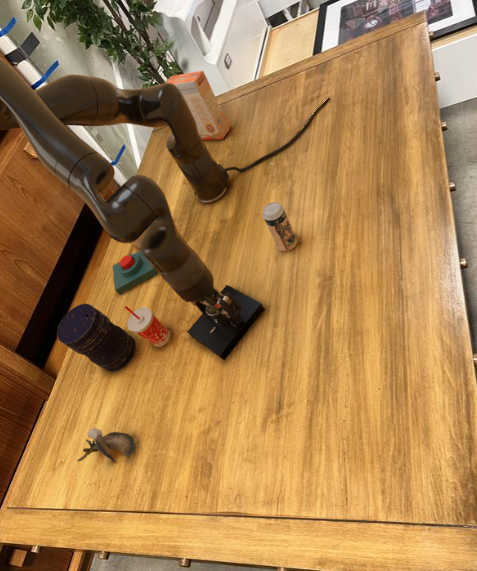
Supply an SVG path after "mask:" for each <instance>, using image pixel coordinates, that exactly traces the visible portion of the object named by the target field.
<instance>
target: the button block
mask: <svg viewBox="0 0 477 571" xmlns="http://www.w3.org/2000/svg"><path fill="white" fill-rule="evenodd" d="M129 255H130V256H131V257H132V258H133V259H134V261H135V262H134V265H133V266H132V267H131V268H129V269H124V268H123V267H122V266H121V265H120V261H118V262H117V263H115V264H113V265H112V273H113V274H112V275H113V284H114V291H115V292H116V293H118V294H119V295H122V294H123V293H125V292H127V291H129V290H131V289H133V288H134V287H136V286H138V285H140V284H142V283H143V282H145V281H147V280H150V279H151V278H153V277H154V276H156V275H158V273H159V272H158V270H157V269H156V268H155V267H154V266H153V265H152V264H151V263H150V262H149V261H148V260H147V259H146V257H145V256H144V255H143V254H142V252H141V249H140V250H138V251H136V252H134V253H129Z"/></svg>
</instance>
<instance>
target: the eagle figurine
mask: <svg viewBox="0 0 477 571" xmlns="http://www.w3.org/2000/svg"><path fill="white" fill-rule="evenodd" d="M87 436H88V437H89V438H90V439H92V441H91V440H89V439H85V442H86V443H87V444H88V445H89V448H88V447H87V448H86V447H85V448H83V449H82V452H83V453H84V454H83V455H82V456H81V457H80V458H78V459H77V460H76V461H77V462H81V461H83V460H85V459H86V458H87V457H88V456H89V455H91V454H92V453H95V452H99V453H100V454H101V455H102V456H103V457H104V458H105V459H106V460H107V461H109V463H110V464H111V463H112V462H113V463H117V461H116V460H115V458H114V456H113V453H112V450H114V451H117V452H120V453H121V454H122V455H124V456H125V457H127V458H128V457H130V456H131V455H132V454H133V453H134V452H135V450H136V446H135V445H136V443H135V442H134V441H135V440H134V439H133V436H131V435H130V434H128V433H124V432H117V431H112V432H108V433H107V434H105V435H103V430H102V429H100V428H97V427H91V428H90V429H89V430H88V432H87Z"/></svg>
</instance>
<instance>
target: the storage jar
mask: <svg viewBox="0 0 477 571" xmlns="http://www.w3.org/2000/svg"><path fill="white" fill-rule="evenodd" d="M56 335H57V336H56V337H57V339H58V341H59V342H60V343H61V344H63V345H64V346H67V348H69V349H71V350H72V351H73V352H75V353H77V354H79V355H83V356H85V357H86V358H88V360H90V361H91V362H92V363H93V364H95V365H96V366H97V367H100V368H102V369H103V370H104V371H107V372H110V373H115V372H120V371H121V370H123V369H124V368H125V367H127V366H128V365H129V364H130V363H131V361H132V360H133V358H134V357H135V354H136V350H137V342H136V340H135V338H134V337H133V336H131V335H130V334H129V333H128V332H127V331H126V330H125V329H123V328H122V327H121V326H119V325H117V324H114V323H113V322H112V321H111V320H110V318H109V317H108V316H107V315H105V314H104V313H103V312H102V311H101V310H98V309H97V308H96V307H94V306H93V305H92V304H90V303H81V304H78V305H76V306H74V307H73V308H71V309H70V310H69V311H68V312H66V314H65V315H64V316H63V318H62V319H61V321H60V322H59V324H58V327H57V332H56Z"/></svg>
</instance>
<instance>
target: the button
mask: <svg viewBox="0 0 477 571" xmlns="http://www.w3.org/2000/svg"><path fill="white" fill-rule="evenodd" d="M119 262H120V265H121V266H122V267H123V268H124V269H129V268H131V267H132V266H133V265H134V262H135V261H134V259H133V258H132V257H131V256H130V254H126V255H124V256H123V257H121V259H120V260H119Z"/></svg>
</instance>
